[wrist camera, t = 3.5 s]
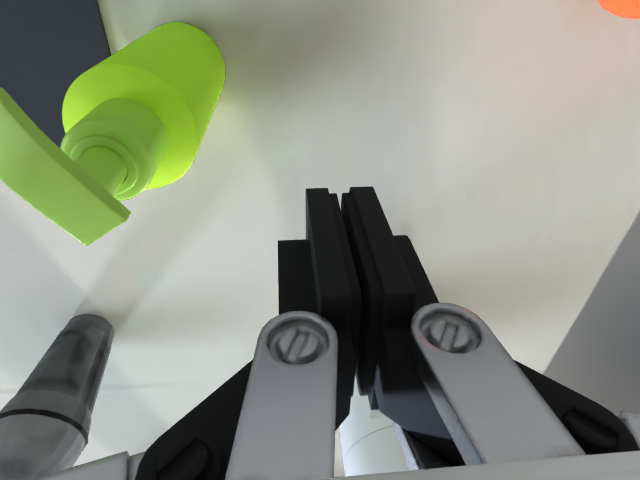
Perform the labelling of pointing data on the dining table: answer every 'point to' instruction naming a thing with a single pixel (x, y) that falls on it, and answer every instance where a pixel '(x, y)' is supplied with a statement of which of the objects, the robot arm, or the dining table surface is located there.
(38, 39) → the placemat
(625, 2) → the clementine
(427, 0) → the dining table surface
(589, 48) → the dining table surface
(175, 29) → the soap dispenser
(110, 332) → the beverage cup
